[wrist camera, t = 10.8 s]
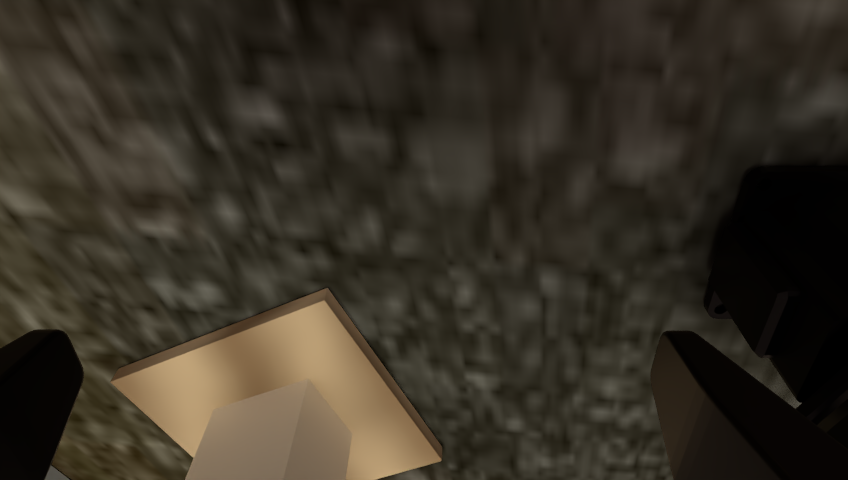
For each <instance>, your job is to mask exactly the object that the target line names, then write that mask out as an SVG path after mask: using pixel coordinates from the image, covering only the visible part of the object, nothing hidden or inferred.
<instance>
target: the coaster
mask: <svg viewBox="0 0 848 480" xmlns="http://www.w3.org/2000/svg"><path fill="white" fill-rule="evenodd" d="M306 379H309V380H310V381H311V383H312V384H313V385H314V386H315V388H316V389H317V390H318V391H319V393H320V394H321V395H322V396H323V398H324V399H325V400H326V401H327V403H328V404H329V405H330V407H331V408H332V409H333V410H334V412H335V413H336V414H337V415H338V417H339V418H340V419H341V420H342V422H343V423H344V424H345V425H346V427H347V428H348V429H349V430H350V432H351V433H352V439H351V446H350V453H349V459H348V466H347V473H346V479H345V480H375V479H379V478H383V477H386V476H390V475H393V474H397V473H400V472H404V471H407V470H411V469H414V468H418V467H422V466H425V465H429V464H432V463H436V462H439V461H442V446H441V445H440V443H439V442H438V440H437V439H436V438H435V436H434V435H433V433H432V432H431V431H430V429H429V428H428V426H427V425H426V424H425V422H424V421H423V420H422V418H421V417H420V415H419V414H418V413H417V411H416V410H415V408H414V407H413V406H412V404H411V403H410V401H409V400H408V399H407V397H406V396H405V395H404V393H403V392H402V390H401V389H400V388H399V386H398V385H397V383H396V382H395V381H394V379H393V378H392V376H391V375H390V374H389V372H388V371H387V370H386V368H385V367H384V365H383V364H382V363H381V361H380V360H379V358H378V357H377V356H376V354H375V353H374V351H373V350H372V349H371V347H370V346H369V345H368V343H367V342H366V340H365V339H364V338H363V336H362V335H361V333H360V332H359V331H358V329H357V328H356V326H355V325H354V324H353V322H352V321H351V320H350V318H349V317H348V315H347V314H346V313H345V311H344V310H343V308H342V307H341V306H340V304H339V303H338V301H337V300H336V299H335V297H334V296H333V295H332V293H331V292H330V290H329V289H328V288H325V289H323V290H320V291H318V292H315V293H312V294H310V295H307V296H305V297H302V298H300V299H297V300H294V301H292V302H289V303H287V304H284V305H281V306H279V307H276V308H274V309H271V310H269V311H266V312H263V313H261V314H258V315H256V316H253V317H250V318H248V319H245V320H243V321H240V322H238V323H235V324H232V325H230V326H227V327H225V328H222V329H220V330H217V331H214V332H212V333H209V334H207V335H204V336H201V337H199V338H196V339H194V340H191V341H189V342H186V343H183V344H181V345H178V346H176V347H173V348H170V349H168V350H165V351H163V352H160V353H158V354H155V355H152V356H150V357H147V358H145V359H142V360H139V361H137V362H134V363H132V364H129V365H127V366H124V367H121V368H119V369H118V370H117V372H116V374H115V375H114V377H113V378H112V380H111V383H112V384H113V385H114V386H115V387H116V388H118V389H119V390H120V391H121V392H122V393H123V394H124V395H125V396H126V397H127V398H129V399H130V400H131V401H132V402H133V403H134V404H135V405H136V406H137V407H138V408H139V409H141V410H142V411H143V412H144V413H145V414H146V415H147V416H148V417H149V418H150V419H152V420H153V421H154V422H155V423H156V424H157V425H158V426H159V427H160V428H161V429H162V430H164V431H165V432H166V433H167V434H168V435H169V436H170V437H171V438H172V439H173V440H175V441H176V442H177V443H178V444H179V445H180V446H181V447H182V448H183V449H184V450H185V451H187V452H188V453H189V454H190V455H191V456H192V457H193V458H194V457H195V454H196V452H197V449H198V447H199V444H200V442H201V439H202V437H203V434H204V432H205V430H206V427H207V425H208V422H209V420H210V417H211V415H212V412H213V410H214V409H216V408H219V407H222V406H225V405H228V404H232V403H235V402H238V401H241V400H244V399H247V398H250V397H253V396H256V395H259V394H262V393H266V392H269V391H272V390H275V389H278V388H281V387H284V386H287V385H290V384H293V383H296V382H300V381H303V380H306Z"/></svg>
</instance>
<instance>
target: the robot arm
mask: <svg viewBox="0 0 848 480" xmlns="http://www.w3.org/2000/svg"><path fill="white" fill-rule="evenodd" d="M765 178H766V181H765V182H764V183H763V184H762V185H760V186H756V185H757V183H758V182H759V181H760V180H762V179H765ZM709 283H710V287H709V290H708V293H707V296H706V299H705V302H704V307H705V309H706V310H707V312H708V314H709V316H711V317H712V318H716V319H733V321H734V322H735V324H736V325H737V327H738V328H739V330H740V331H741V333H742V335H743V336H744V338H745V339H746V341H747V342H748V344H749V346H750V347H751V349H752V350H753V351H754V352H755V353H756V355H757V356H759V357H760V358H769V359H770V360H771V362H772V363H773V365H774V366H775V368H776V369H777V371H778V372H779V374H780V375H781V377H782V378H783V380H784V381H785V383H786V384H787V386H788V387H789V389H790V390H791V392H792V393H793V395H794V396H795V398H796V400H797V401H798V402H801V403H802V404H801V405H799V406H798V407H797V408H796V409H795V408H793V407H792V406H791V405H789V404H788V403H787V402H785V401H784V400H783V399H781V398H780V397H779V396H778V395H776V394H775V393H774V392H772V391H771V390H770V389H768V388H767V387H766V386H764V385H763V384H762V383H760V382H759V381H758V380H757V379H755V378H754V377H753V376H751V375H750V374H749V373H747V372H746V371H745V370H743V369H742V368H741V367H739V366H738V365H737V364H736V363H734V362H733V361H732V360H730V359H729V358H728V357H726V356H725V355H724V354H722V353H721V352H720V351H718V350H717V349H716V348H715V347H713V346H712V345H711V344H709V343H708V342H707V341H705V340H704V339H703V338H701V337H700V336H699V335H697V334H696V333H694V332H692V331H666V332H664V333H663V334H662V335H661V337H660V340H659V344H658V347H657V351H656V354H655V358H654V361H653V365H652V369H651V386H652V390H653V395H654V399H655V403H656V407H657V412H658V416H659V420H660V425H661V429H662V433H663V437H664V442H665V446H666V450H667V455H668V459H669V463H670V467H671V471H672V475H673V479H674V480H848V166H774V167H758V168H755V169H753V170H751V171H750V172H749V173H748V174H747V175H746V177H745V179H744V182H743V185H742V188H741V191H740V194H739V197H738V200H737V203H736V206H735V209H734V213H733V216H732V219H731V222H730V223H729V224H728V225H727V227H726V228H725V230H724V233H723V236H722V239H721V242H720V245H719V248H718V251H717V255H716V258H715V261H714V264H713V267H712V270H711V273H710V276H709ZM720 304H722V305H721V306H719V307H716V306H718V305H720ZM715 307H716V308H715ZM83 378H84V372H83V367H82V364H81V362H80V360H79V358H78V356H77V354H76V352H75V350H74V347H73V345H72V343H71V341H70V339H69V337H68V335H67V334H66V333H65V332H63V331H62V330H33V331H30V332H28V333H27V334H25V335H23V336H21V337H20V338H18V339H16V340H14V341H13V342H11V343H9V344H7V345H6V346H4V347H2V348H0V480H45V478H46V476H47V473H48V471H49V469H50V466H51V464H52V461H53V459H54V456H55V454H56V451H57V449H58V446H59V443H60V441H61V438H62V436H63V433H64V430H65V428H66V425H67V423H68V420H69V417H70V415H71V412H72V410H73V407H74V404H75V402H76V399H77V397H78V394H79V391H80V389H81V386H82V383H83Z"/></svg>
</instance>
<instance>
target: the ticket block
mask: <svg viewBox="0 0 848 480" xmlns="http://www.w3.org/2000/svg"><path fill="white" fill-rule="evenodd" d="M45 480H70V479H68V478H67V477H66V476H64V475H63V474H62V473H60V472H59V471H58V470H57V469H55V468H54V467H53V466H50V469H49V471H48V473H47V476H46V478H45Z"/></svg>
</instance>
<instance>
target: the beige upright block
mask: <svg viewBox="0 0 848 480" xmlns="http://www.w3.org/2000/svg"><path fill="white" fill-rule="evenodd" d="M351 439H352V433H351V432H350V430H349V429H348V428H347V427H346V425H345V424H344V423H343V422H342V420H341V419H340V418H339V417H338V415H337V414H336V413H335V412H334V410H333V409H332V408H331V407H330V405H329V404H328V403H327V401H326V400H325V399H324V398H323V396H322V395H321V394H320V393H319V391H318V390H317V389H316V388H315V386H314V385H313V384H312V383H311V381H310V380H309V379H306V380H303V381H300V382H296V383H293V384H290V385H287V386H284V387H281V388H278V389H275V390H272V391H269V392H266V393H262V394H259V395H256V396H253V397H250V398H247V399H244V400H241V401H238V402H235V403H232V404H228V405H225V406H222V407H219V408H216V409H214V410H213V412H212V415H211V417H210V420H209V422H208V425H207V427H206V430H205V432H204V434H203V437H202V439H201V442H200V444H199V447H198V449H197V452H196V454H195V457H194V459H193V461H192V464H191V466H190V469H189V471H188V474H187V476H186V479H185V480H345V479H346V473H347V466H348V459H349V453H350V446H351Z"/></svg>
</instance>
